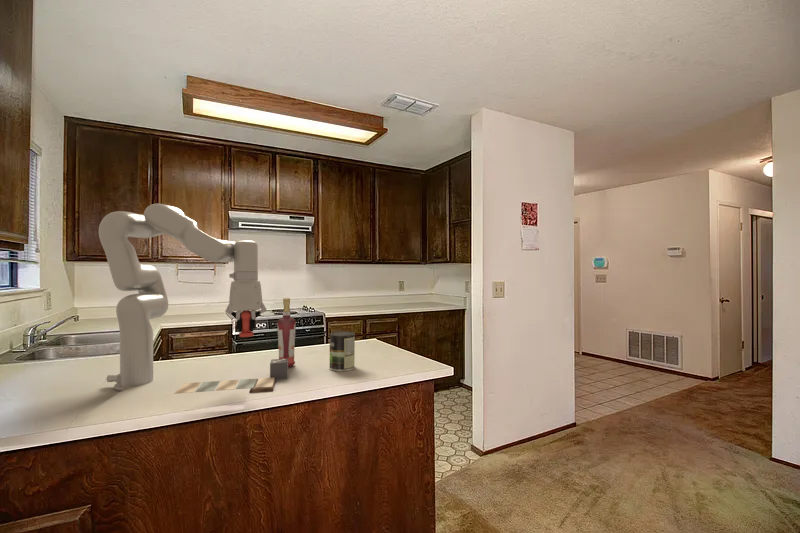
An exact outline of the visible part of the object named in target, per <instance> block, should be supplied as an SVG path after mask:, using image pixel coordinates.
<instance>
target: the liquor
mask: <svg viewBox="0 0 800 533" xmlns="http://www.w3.org/2000/svg"><path fill="white" fill-rule="evenodd" d="M282 301H283V302H282V303H283V310H282V317H281V318H279V319H278V320H277V342H278V344H277V345H278V359H288V369H289V368H292V367H293V366H294V365H295V364H296V361H295V342H296V324H297V322H296V321H297V320H296V319H295V318H293V317H291V309H290V307H291V306H290V305H291V304H290V303H291V298H290V297H287V298H285V297H284V298H282Z"/></svg>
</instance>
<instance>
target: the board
mask: <svg viewBox="0 0 800 533" xmlns="http://www.w3.org/2000/svg"><path fill="white" fill-rule="evenodd" d="M275 384H276V378H275V377H271V378H270V377H260V378H259V377H258V378H245V379H244V378H243V379H242V378H241V379H240V380H239V379H229V380H227V379H226V380H222V381H221V380H215V381H214V380H212V381H203V382H202V381H199V382H197V381H196V382H185V383H183V384H182V385H181V386H180V387H179V388H178V389H176V391H175V392H174V393H173V394H174V395H175V394H190V393H194V392H195V393H202V392H214V391H229V390H230V391H231V390H234V389H235V390H242V389H243V390H245V389H249V392H248V393H260V392H262V393H264V392H273V391H274V388H275Z"/></svg>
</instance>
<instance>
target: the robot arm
mask: <svg viewBox="0 0 800 533" xmlns="http://www.w3.org/2000/svg"><path fill="white" fill-rule="evenodd" d="M98 226H99V227H98V237H99V241H100V244H101V246H102V248H103V250H104V252H105V253H104V254H105V256H106V260H107V264H108V267H109V272H110V274H111V277H112V278H111V279H112V282H113V283H114V286H115V287H116V289H118V291H122V292H135V291H137V292H138V293H134V294H128V295H126V296H124V297H122V298H121V299H120V300H119V301H118V302H117V305H116V309H115V312H116V317H117V322H118V328H119V373H118V374H108V375H107V376H106V382H107V383H112V382H115V384H114V385H113V386H114V390H115V391H119V392H122V391H124V390H125V389H126V388H128V387H137V386H144V385H147V384H149V383H152V382H153V381H154V330H153V327H152V325H151V322H150V320H154V319H157V318H161V317H162V316H163V315H165V314H166V313H167V311H168V310H169V299H168V295H167V292H166V289H165V285H164V281H163V279H162V276H161V273H160V271H159V270H158V269H157V268H156V267H155V266H153V265H151V264H147V263H140V261H139V258H138V255H137V252H136V249H135V247H134V245H133V244H132V243H131V242H130V241H129V239H128V238H138V239H150V238H154V237H159V236H163V235H167V236H169V237H170V238H173V239H174V240H175V241H178V242H180V243H181V245H182V246H183V247H184V248H185V249H186V250H188V251H189V252H191V253H193V254H194V255H196V256H199V257H201V258H202V259H204V260H206V261H209V262H212V263H233V273H229V276H228V277H229V278H230V279H233V281H231V283H230V289H229V298H228V299H229V301H228V305H227V307H226V309H225V311H224V312H225V313H226V314H228V315H231V316H232V317H234V318H235V320H236V329H237V330H238V333H240V332H242V319H241V313H242V312H243V311H250V312H251V315H252V317H251V320H250V331H252V332H254V329H256V320H257V318H258V317H259V315H262V314H263V313H265V312H266V311H267V307H266V306H265V304H264V302H263V294H262V293H263V292H262V285H261V281H260V280H259V270H258V269H259V266H258V265H259V259H258V255H259V253H258V252H259V251H258V250H259V249H258V248H259V246H258V243H257V242H256V241H255V240H254V241H253V240H237V241H230V240H225V239H217V238H214V237H213V236H211V235H209V234H207V233H205V232H203V231H202V230H200V229H199V225H198V222H197V221H195V220H194V219H192V218H190V217H189V216H186V213H185V212H183V210H182V209H180V208H179V207H176V206H173V205H168V204H163V203H153V204H150V205H148V206H147V207H146V208H145V209H144V211H143V214H142V213H136V212H132V211H126V210H125V211H124V210H122V211H121V210H119V211H112V212H110V213H108V214H106V215H104V217H103V218H102V219H101V221H100V223H99V225H98Z"/></svg>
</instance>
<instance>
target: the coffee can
mask: <svg viewBox="0 0 800 533" xmlns="http://www.w3.org/2000/svg"><path fill="white" fill-rule="evenodd" d="M328 336H329V370H330V371H333V372H349V371H352V369H353V370H354V369H355V356H356V355H355V345H356V343H355V338H356V337H355V336H356V333H355V332H354V331H349V330H347V331H345V330H342V331H341V330H340V331H339V330H338V331H333V332H331V333H329V335H328ZM348 370H349V371H348Z"/></svg>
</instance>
